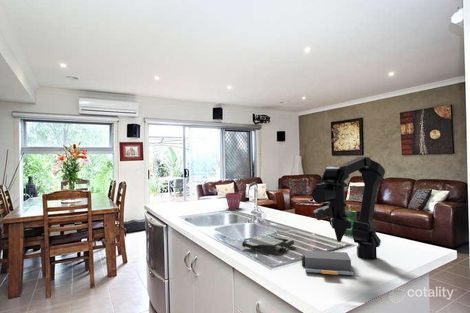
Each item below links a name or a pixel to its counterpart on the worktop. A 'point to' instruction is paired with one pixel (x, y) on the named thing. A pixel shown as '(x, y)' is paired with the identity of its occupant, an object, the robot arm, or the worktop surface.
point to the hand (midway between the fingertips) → (338, 241)
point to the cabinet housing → (326, 260)
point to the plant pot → (233, 200)
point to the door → (329, 271)
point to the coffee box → (351, 217)
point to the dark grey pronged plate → (268, 244)
